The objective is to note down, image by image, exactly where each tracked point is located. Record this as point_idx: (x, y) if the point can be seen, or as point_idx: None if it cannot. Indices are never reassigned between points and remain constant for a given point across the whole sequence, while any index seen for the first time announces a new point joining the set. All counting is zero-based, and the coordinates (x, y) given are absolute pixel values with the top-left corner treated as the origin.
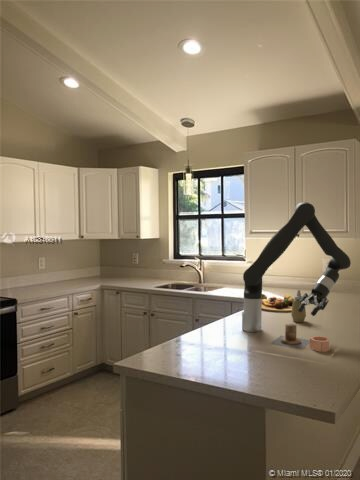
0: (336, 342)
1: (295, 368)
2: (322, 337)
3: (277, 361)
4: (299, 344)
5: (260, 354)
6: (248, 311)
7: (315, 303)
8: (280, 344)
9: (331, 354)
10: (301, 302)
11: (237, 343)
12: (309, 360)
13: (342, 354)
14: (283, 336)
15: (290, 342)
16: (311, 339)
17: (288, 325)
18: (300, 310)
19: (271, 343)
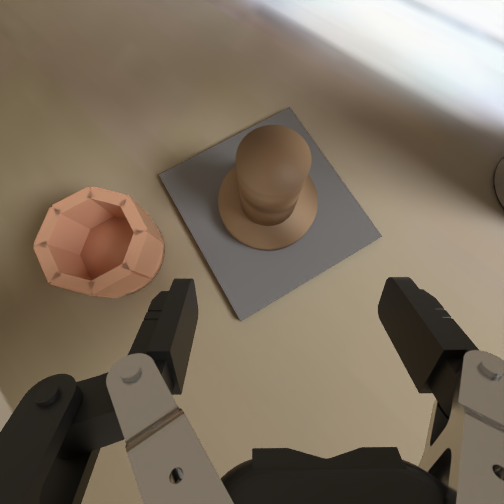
0: None
1: (38, 31)
2: (103, 274)
3: (121, 25)
4: (215, 212)
5: (210, 21)
6: None
7: (169, 413)
8: None
9: None
10: (499, 365)
11: (364, 24)
12: (59, 120)
13: (18, 294)
14: (361, 237)
15: (232, 168)
16: (114, 192)
17: (272, 137)
18: (388, 308)
19: (289, 116)
